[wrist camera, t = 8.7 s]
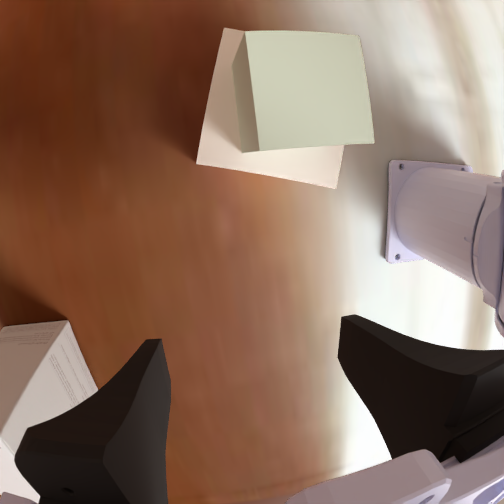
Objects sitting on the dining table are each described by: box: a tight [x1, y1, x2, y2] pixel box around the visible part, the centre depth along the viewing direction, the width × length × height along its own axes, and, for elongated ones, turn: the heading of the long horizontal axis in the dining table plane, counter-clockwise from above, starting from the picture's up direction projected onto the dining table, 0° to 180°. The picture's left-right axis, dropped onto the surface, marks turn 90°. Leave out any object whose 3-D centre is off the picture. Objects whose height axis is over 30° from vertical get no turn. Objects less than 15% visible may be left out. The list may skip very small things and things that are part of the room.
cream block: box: [196, 28, 344, 189], centre depth 18 cm, size 8×8×4 cm
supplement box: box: [0, 320, 98, 504], centre depth 16 cm, size 7×7×13 cm
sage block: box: [232, 31, 375, 153], centre depth 14 cm, size 5×5×5 cm
